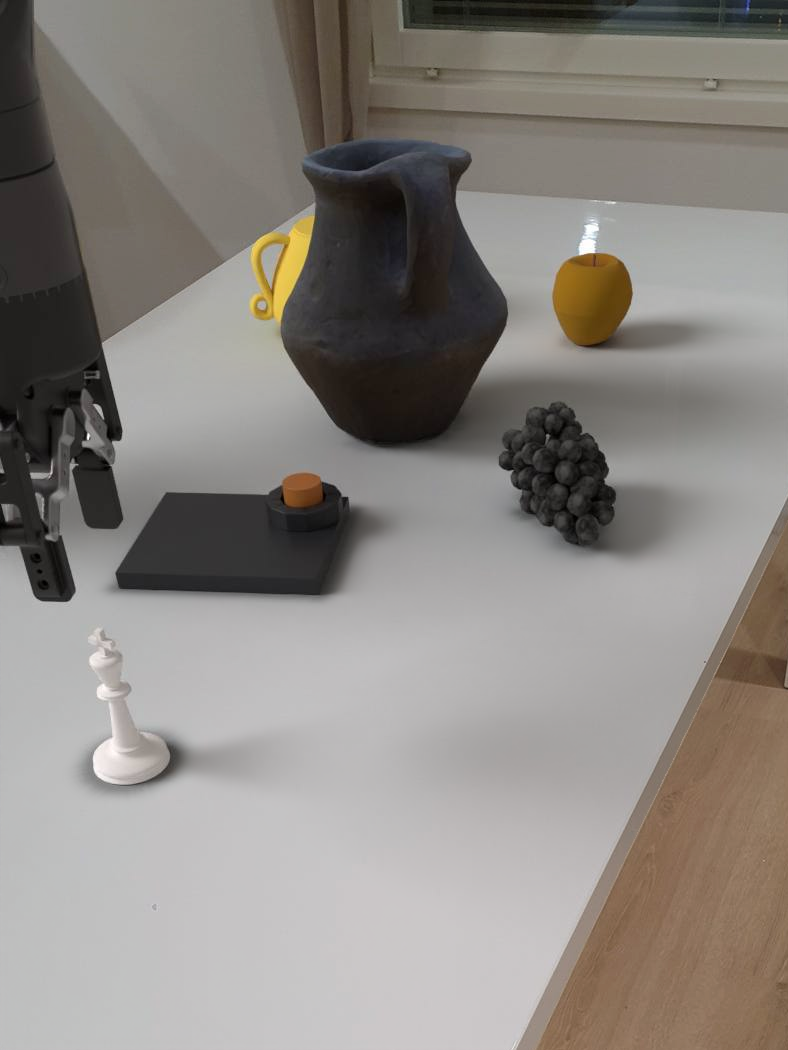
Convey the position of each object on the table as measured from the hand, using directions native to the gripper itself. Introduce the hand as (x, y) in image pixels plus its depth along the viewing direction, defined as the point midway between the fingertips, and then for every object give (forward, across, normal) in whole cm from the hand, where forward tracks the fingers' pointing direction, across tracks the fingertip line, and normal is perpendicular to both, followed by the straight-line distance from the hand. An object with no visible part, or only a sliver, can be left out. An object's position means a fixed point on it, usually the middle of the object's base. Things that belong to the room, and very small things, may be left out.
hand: (82, 561), depth 74 cm
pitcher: (+15, -54, +10) cm, 57 cm away
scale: (+14, -29, 0) cm, 32 cm away
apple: (+15, -77, +27) cm, 83 cm away
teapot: (+14, -82, -2) cm, 83 cm away
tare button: (+12, -32, +5) cm, 35 cm away
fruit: (+15, -35, +26) cm, 46 cm away
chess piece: (+15, 0, 0) cm, 15 cm away
